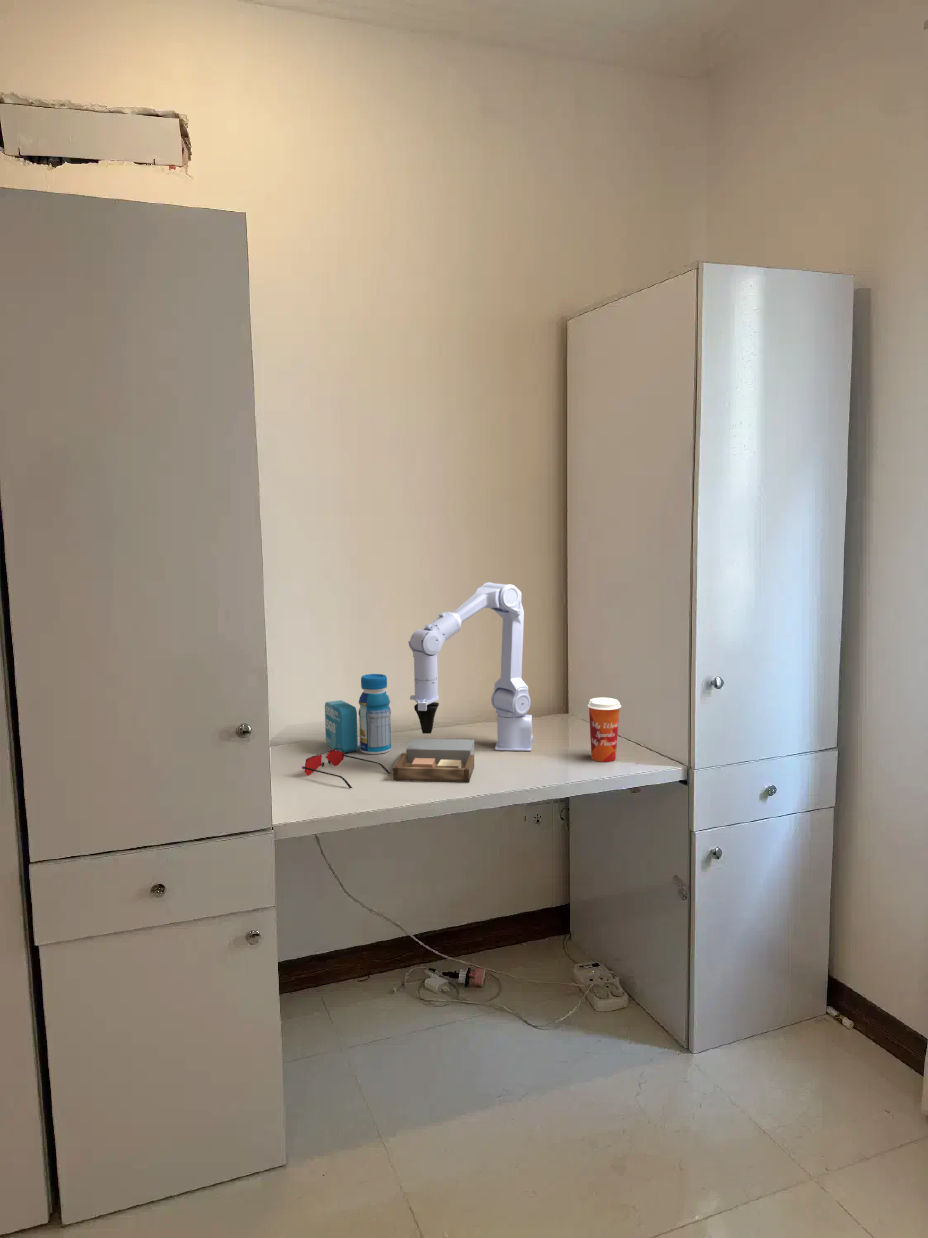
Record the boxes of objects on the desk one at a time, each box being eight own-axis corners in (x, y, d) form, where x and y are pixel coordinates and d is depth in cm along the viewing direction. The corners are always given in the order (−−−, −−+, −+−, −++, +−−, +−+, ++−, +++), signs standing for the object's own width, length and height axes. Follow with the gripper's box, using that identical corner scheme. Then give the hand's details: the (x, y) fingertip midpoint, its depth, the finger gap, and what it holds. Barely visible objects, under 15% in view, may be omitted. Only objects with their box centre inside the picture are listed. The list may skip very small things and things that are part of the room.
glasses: (341, 764, 221) (341, 744, 220) (391, 775, 211) (391, 755, 211) (301, 778, 210) (300, 757, 209) (351, 790, 200) (351, 769, 199)
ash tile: (458, 766, 208) (458, 774, 208) (461, 760, 213) (461, 768, 213) (437, 765, 208) (437, 773, 209) (440, 759, 213) (440, 767, 214)
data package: (325, 744, 238) (324, 701, 237) (341, 741, 240) (340, 699, 239) (342, 754, 228) (340, 709, 226) (358, 752, 230) (357, 707, 228)
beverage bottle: (380, 756, 226) (379, 680, 223) (353, 752, 229) (351, 677, 227) (397, 748, 233) (396, 674, 230) (370, 744, 237) (368, 671, 234)
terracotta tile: (432, 764, 209) (432, 772, 210) (435, 758, 214) (435, 766, 215) (411, 764, 210) (411, 772, 210) (415, 758, 215) (415, 766, 215)
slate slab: (474, 754, 226) (474, 739, 226) (470, 766, 216) (470, 750, 216) (413, 753, 228) (412, 738, 228) (406, 764, 218) (406, 749, 218)
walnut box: (474, 766, 216) (474, 754, 216) (469, 782, 204) (469, 769, 203) (402, 765, 218) (402, 753, 218) (392, 780, 206) (392, 768, 205)
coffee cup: (589, 763, 218) (589, 704, 216) (585, 754, 226) (585, 697, 224) (623, 763, 217) (623, 704, 216) (618, 754, 226) (618, 697, 224)
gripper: (414, 672, 222) (415, 725, 224) (404, 684, 207) (406, 740, 209) (442, 673, 221) (443, 725, 223) (434, 684, 207) (435, 741, 209)
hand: (427, 732), depth 216 cm, fingers closed
